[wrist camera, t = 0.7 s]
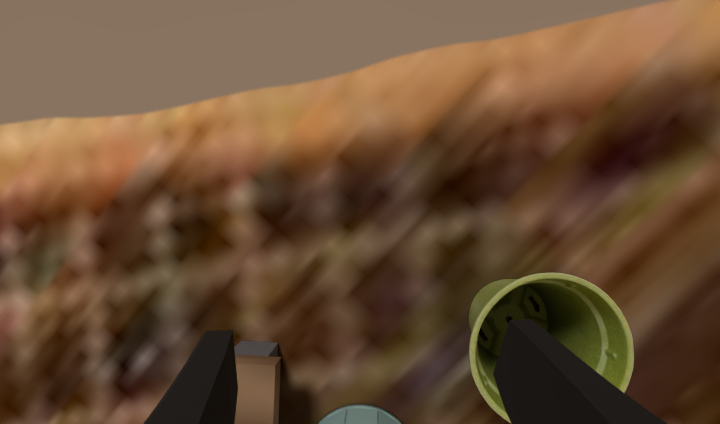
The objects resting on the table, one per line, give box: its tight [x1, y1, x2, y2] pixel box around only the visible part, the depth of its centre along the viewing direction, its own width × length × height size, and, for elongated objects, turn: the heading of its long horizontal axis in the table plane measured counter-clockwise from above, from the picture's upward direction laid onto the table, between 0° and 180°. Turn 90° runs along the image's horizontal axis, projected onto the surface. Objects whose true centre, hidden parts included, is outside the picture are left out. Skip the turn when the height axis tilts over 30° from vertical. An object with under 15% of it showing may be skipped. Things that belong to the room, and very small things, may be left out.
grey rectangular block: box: [234, 341, 278, 357], centre depth 32 cm, size 10×3×4 cm, turn 178°
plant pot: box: [469, 273, 634, 423], centre depth 29 cm, size 9×9×9 cm
